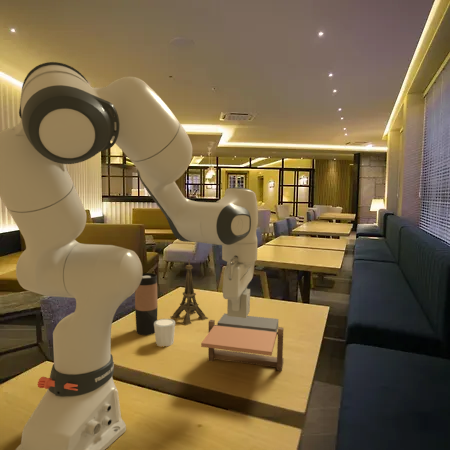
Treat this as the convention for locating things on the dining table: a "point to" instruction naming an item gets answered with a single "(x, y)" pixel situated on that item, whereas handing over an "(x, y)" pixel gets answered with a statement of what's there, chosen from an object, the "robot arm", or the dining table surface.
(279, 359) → the frame
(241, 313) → the grey block
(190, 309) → the eiffel tower
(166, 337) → the shot glass
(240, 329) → the trapdoor
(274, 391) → the dining table surface
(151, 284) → the travel mug
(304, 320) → the dining table surface
